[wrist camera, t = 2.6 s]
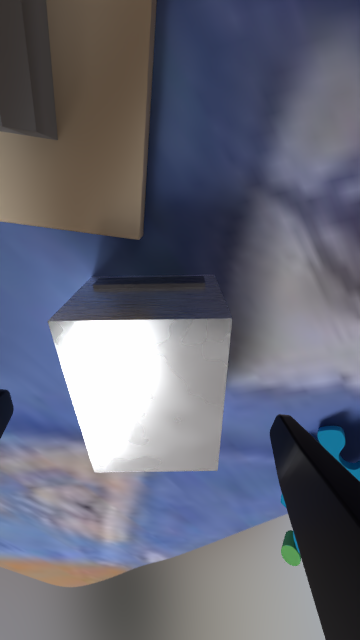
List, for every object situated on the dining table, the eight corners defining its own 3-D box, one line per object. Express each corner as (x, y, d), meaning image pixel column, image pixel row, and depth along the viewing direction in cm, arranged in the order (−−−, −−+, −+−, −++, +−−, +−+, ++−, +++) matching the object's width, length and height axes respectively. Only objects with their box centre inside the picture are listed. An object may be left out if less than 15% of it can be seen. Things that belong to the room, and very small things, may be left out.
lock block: (116, 399, 14) (95, 474, 10) (92, 271, 10) (46, 316, 7) (207, 398, 14) (217, 472, 10) (213, 269, 10) (232, 313, 7)
